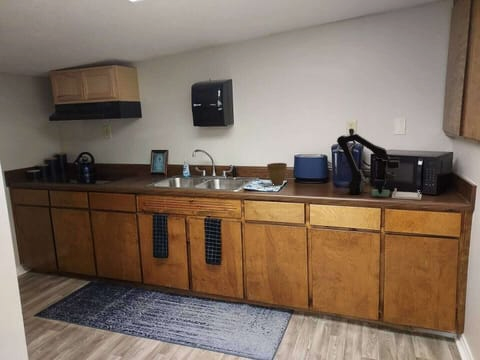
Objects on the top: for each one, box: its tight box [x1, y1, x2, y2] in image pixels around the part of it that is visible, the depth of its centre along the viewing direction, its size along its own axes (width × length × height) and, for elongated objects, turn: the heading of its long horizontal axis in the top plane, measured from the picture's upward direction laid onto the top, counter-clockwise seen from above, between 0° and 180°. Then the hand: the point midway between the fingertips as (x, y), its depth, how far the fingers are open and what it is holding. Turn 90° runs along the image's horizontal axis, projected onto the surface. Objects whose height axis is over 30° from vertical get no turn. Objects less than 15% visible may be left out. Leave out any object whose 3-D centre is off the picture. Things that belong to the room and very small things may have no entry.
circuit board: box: [371, 188, 391, 198], centre depth 225 cm, size 10×6×3 cm, turn 63°
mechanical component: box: [359, 176, 371, 193], centre depth 235 cm, size 3×10×10 cm, turn 36°
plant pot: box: [266, 162, 288, 186], centre depth 269 cm, size 15×15×16 cm
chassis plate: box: [391, 187, 422, 201], centre depth 218 cm, size 16×12×4 cm
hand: (380, 192), depth 225 cm, fingers closed on circuit board, 6 cm apart
